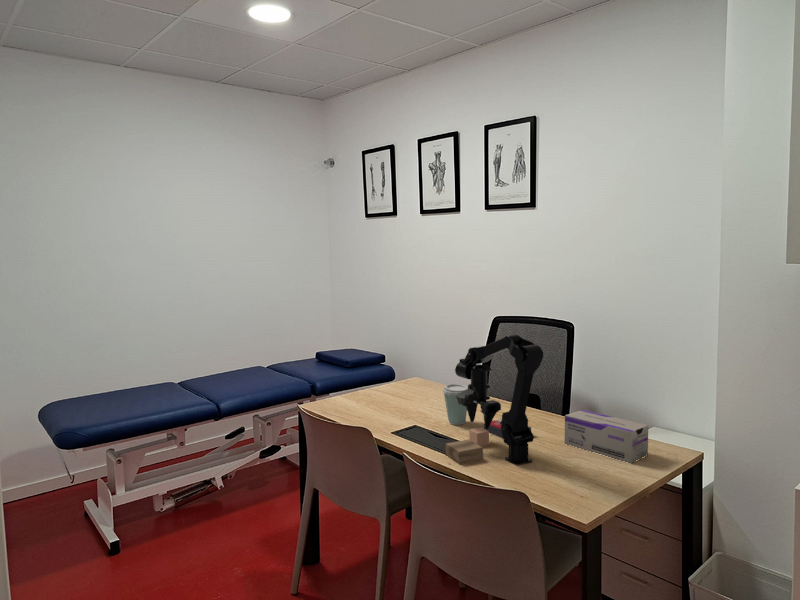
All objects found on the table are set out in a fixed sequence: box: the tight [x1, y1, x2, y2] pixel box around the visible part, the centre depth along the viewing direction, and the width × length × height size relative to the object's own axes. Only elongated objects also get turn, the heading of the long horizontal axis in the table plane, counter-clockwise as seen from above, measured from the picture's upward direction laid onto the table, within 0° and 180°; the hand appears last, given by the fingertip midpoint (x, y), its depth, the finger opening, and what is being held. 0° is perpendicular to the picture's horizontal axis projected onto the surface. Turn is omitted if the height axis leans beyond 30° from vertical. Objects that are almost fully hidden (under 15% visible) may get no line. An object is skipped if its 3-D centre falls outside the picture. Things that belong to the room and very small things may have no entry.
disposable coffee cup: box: [442, 383, 468, 426], centre depth 234 cm, size 11×11×15 cm
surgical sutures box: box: [564, 409, 649, 464], centre depth 201 cm, size 25×11×11 cm, turn 39°
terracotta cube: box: [468, 427, 490, 447], centre depth 209 cm, size 5×5×5 cm
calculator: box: [483, 418, 532, 439], centre depth 221 cm, size 11×4×15 cm
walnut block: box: [445, 439, 484, 465], centre depth 196 cm, size 9×9×4 cm
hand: (479, 425), depth 209 cm, fingers open, 9 cm apart
